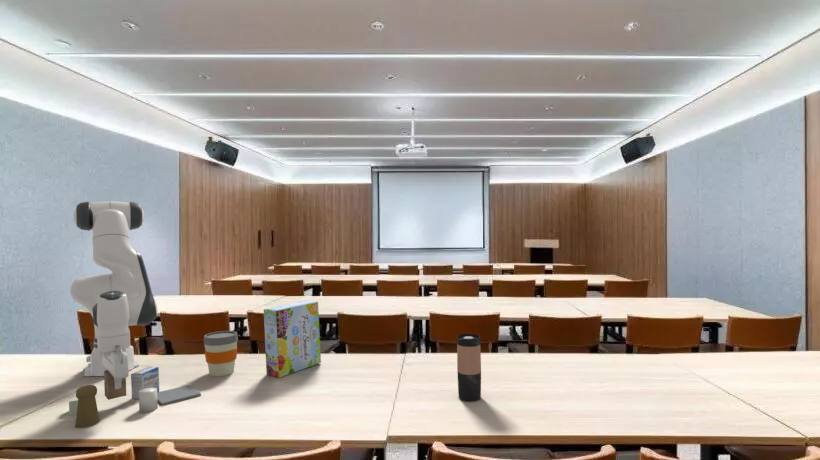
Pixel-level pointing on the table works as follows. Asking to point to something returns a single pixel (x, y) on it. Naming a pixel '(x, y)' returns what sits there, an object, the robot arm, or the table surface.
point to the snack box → (291, 337)
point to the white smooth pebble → (148, 400)
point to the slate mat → (176, 395)
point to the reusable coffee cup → (221, 352)
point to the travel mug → (469, 367)
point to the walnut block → (109, 387)
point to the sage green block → (73, 405)
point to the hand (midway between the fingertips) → (115, 385)
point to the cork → (86, 407)
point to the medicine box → (144, 380)
